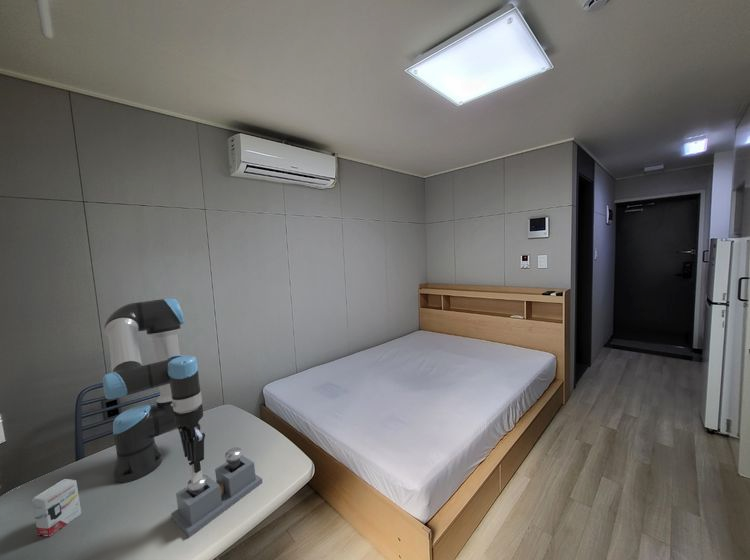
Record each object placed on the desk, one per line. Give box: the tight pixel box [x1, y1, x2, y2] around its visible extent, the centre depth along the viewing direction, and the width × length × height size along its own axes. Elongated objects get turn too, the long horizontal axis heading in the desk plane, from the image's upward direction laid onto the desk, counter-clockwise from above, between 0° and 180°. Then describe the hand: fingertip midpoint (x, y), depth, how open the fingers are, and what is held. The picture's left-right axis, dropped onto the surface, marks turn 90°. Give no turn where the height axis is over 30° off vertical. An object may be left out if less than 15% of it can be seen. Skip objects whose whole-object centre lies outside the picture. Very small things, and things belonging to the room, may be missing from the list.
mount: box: [170, 455, 263, 538], centre depth 99 cm, size 12×24×8 cm, turn 145°
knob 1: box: [187, 474, 207, 498], centre depth 94 cm, size 5×5×8 cm
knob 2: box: [224, 447, 243, 473], centre depth 103 cm, size 5×5×8 cm
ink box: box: [31, 478, 82, 536], centre depth 93 cm, size 9×5×12 cm, turn 168°
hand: (197, 479), depth 93 cm, fingers closed
